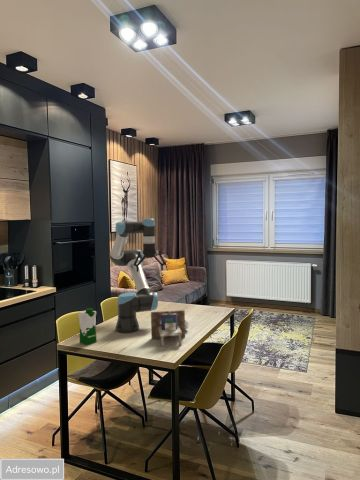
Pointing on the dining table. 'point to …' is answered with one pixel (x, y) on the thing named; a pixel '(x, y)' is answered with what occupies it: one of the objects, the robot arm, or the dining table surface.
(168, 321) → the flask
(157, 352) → the dining table surface
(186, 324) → the pretzel
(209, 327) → the dining table surface
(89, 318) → the milk carton
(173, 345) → the dining table surface
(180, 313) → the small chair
